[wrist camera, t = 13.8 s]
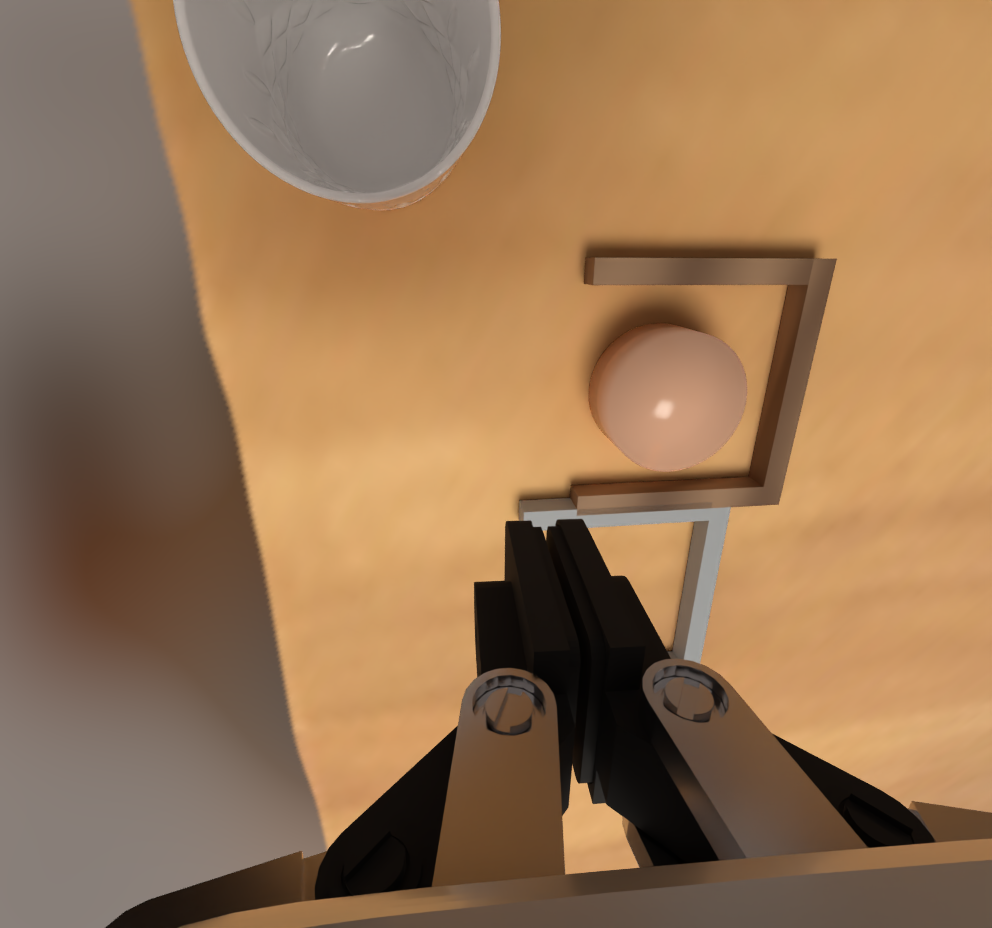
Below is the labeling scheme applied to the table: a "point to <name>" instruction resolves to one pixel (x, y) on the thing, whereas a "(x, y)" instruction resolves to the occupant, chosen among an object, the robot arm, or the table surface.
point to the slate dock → (699, 565)
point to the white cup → (347, 88)
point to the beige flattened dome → (668, 395)
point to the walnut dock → (783, 388)
